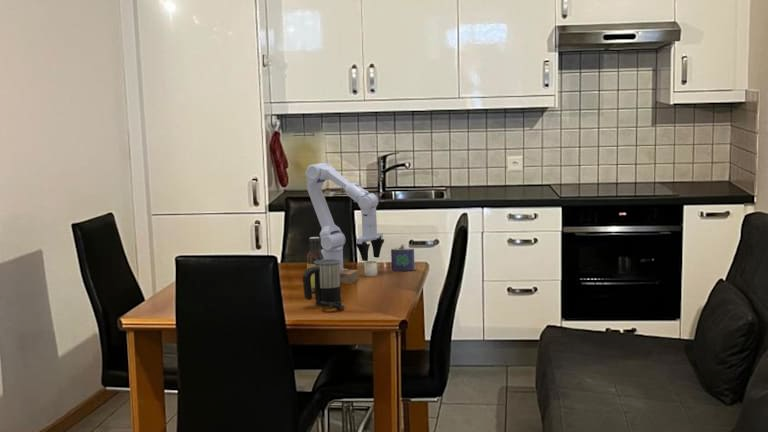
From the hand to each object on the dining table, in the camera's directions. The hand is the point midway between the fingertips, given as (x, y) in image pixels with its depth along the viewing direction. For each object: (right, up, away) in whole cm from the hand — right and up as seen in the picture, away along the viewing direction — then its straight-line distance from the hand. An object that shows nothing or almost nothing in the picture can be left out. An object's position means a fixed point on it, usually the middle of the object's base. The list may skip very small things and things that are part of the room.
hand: (370, 259), depth 359 cm
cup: (0, -6, +1) cm, 6 cm away
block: (-10, -8, -9) cm, 16 cm away
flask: (+13, -5, +6) cm, 15 cm away
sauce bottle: (-19, -11, -24) cm, 33 cm away
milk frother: (-13, -14, -47) cm, 51 cm away
